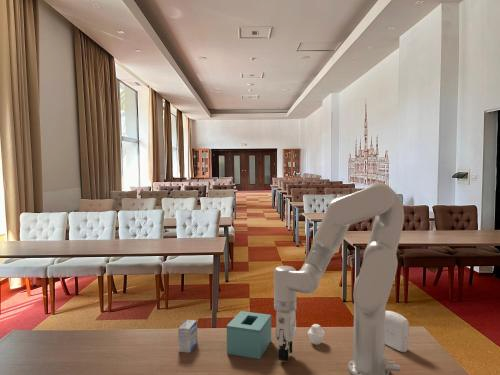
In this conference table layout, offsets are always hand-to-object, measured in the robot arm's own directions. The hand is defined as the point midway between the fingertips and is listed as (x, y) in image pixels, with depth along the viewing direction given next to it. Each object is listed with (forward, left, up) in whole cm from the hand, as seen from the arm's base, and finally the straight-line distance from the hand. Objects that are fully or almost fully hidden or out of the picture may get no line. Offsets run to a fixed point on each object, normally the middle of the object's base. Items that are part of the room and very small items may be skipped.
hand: (285, 355), depth 135 cm
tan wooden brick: (0, 0, -1) cm, 1 cm away
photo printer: (-35, -21, -1) cm, 41 cm away
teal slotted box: (+14, -4, -1) cm, 15 cm away
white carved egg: (-8, -15, -1) cm, 17 cm away
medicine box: (+35, +3, -1) cm, 35 cm away
